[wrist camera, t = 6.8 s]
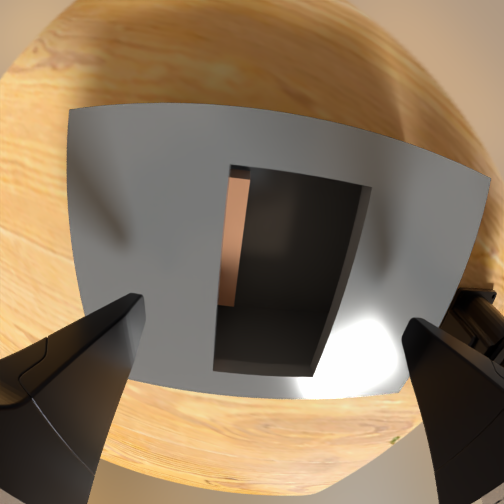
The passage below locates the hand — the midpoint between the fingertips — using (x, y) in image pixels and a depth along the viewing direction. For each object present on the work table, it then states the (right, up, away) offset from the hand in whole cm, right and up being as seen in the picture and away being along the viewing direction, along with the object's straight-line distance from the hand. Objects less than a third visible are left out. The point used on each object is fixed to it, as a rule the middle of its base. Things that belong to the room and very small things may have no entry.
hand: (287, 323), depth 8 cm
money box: (0, +4, +8) cm, 9 cm away
